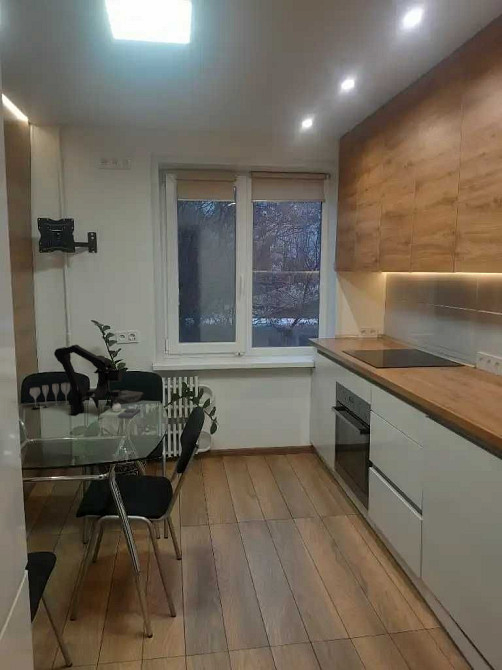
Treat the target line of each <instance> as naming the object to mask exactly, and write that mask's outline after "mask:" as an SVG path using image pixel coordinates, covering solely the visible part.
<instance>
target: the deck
mask: <svg viewBox="0 0 502 670" xmlns="http://www.w3.org/2000/svg"><path fill="white" fill-rule="evenodd" d="M139 412H140V413H141V408H121V410H120V411H119V412H115V411H113V409H111V407H110V408H108V409H107V410H105V411H104V412H102V413H101V414H100V415H99V417H100V418H103V419H104V418H106V419H109V418H111V419H133V418H135V416H138V414H139Z"/></svg>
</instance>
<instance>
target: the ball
mask: <svg viewBox="0 0 502 670" xmlns="http://www.w3.org/2000/svg"><path fill="white" fill-rule="evenodd" d="M112 409H113V411H115V412H119V411H120V410H121V409H122V404H119V403H115V404H113V406H112Z"/></svg>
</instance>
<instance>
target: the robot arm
mask: <svg viewBox="0 0 502 670" xmlns="http://www.w3.org/2000/svg"><path fill="white" fill-rule="evenodd" d="M73 353H74V354H75V355H77V356H79V357H81V358H83V359H85V360H87V361H88V362H90V363H91V364H92V365H93V367H95V368H96V370H95V371H94V372H93V373H94V374H97V382H98V383H97V384H96V385H97V386H96V387H95V389H89V390H87V387H86V385H82V384H81V383H80V381H79V379H78V376H77V373H76V371H75V369H74V366H73V365H72V364H73V363H72V362H71V357H72V356H71V354H73ZM53 354H54V357H55V358H56V360H57V361H58V362H59V363H60V364H61V365H62V368H63V370H64V373H65V375H66V378H67V380H68V383H70V388H71V398H70V399H69V400H68V402H67V403H68V405H70V413H69V415H72V416H78V415H79V414H84V413H85V409H86V408H85V405H84V402H85V401H86V398H87V397H89V398H90V399H92V400H93V402H94V405H95V406H96V408H97V409H99V406H100V405H99V398H103V397H104V396H110V397H109V399H110V405H109V407H110V408H111V409H112V406H113V404H114V402H115V399H116V398H117V397H119V396H121V395H122V392H121V391H122V390H119V389H115V390H112V391H111V388H110V384H111V383H110V382H119V383H120V382H122V380H123V372H122V371H121V369H118V368H117V369H115V368H114V367H113V366H112V364H111V363H110V360H109V359H108V358H106V357H103V356H100V355H96V354H94V353H92V352H90V351H89V350H87V349H85V348H83V347H81V346H80V345H79V344H72V345H70V346H68V347H67V346H63V347H59V348H56V349H55V350H54V352H53Z"/></svg>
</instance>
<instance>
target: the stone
mask: <svg viewBox="0 0 502 670" xmlns="http://www.w3.org/2000/svg"><path fill="white" fill-rule="evenodd" d="M121 392H122V395H121V396H119V397H117V398H116V399H115V402H114V403H119V404H120V405H123V404H134V403H138V402H141V401H142V400H144V399H145V393H144V392H142V391H133V390H127V389H126V390H121Z"/></svg>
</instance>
